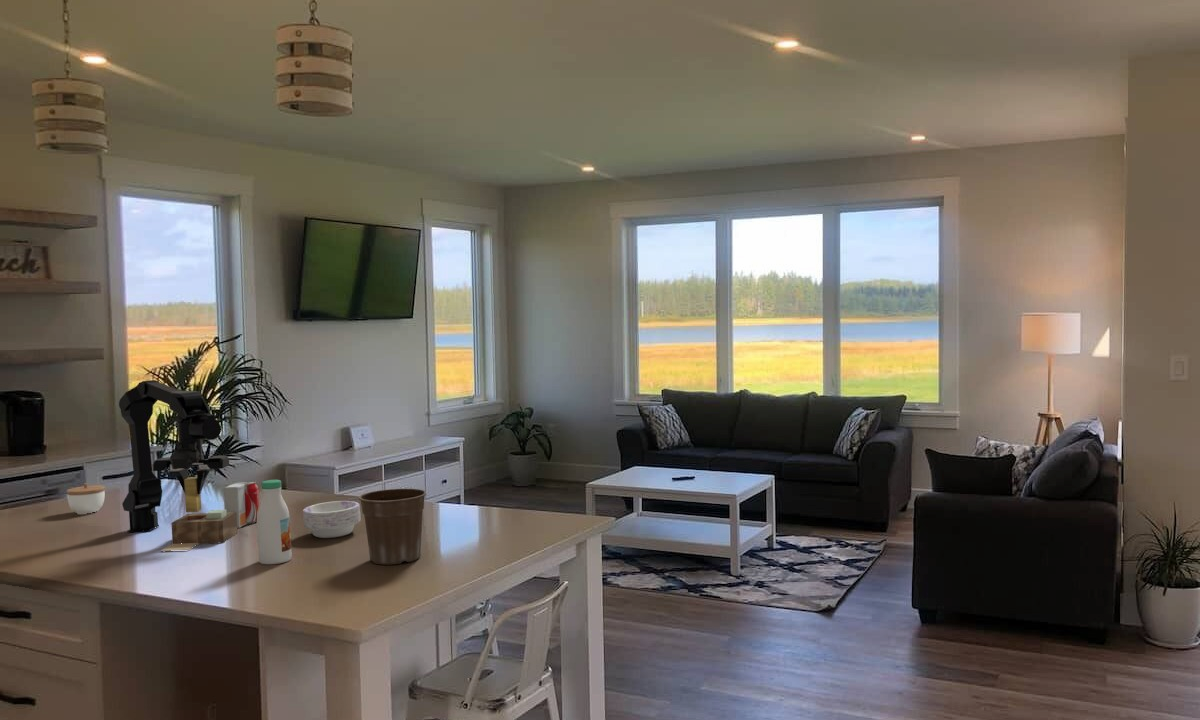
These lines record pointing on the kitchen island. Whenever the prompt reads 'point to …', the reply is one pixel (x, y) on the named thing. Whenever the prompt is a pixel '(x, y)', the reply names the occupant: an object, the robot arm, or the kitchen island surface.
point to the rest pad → (180, 546)
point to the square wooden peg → (192, 495)
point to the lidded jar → (86, 498)
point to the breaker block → (203, 528)
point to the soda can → (251, 500)
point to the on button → (216, 514)
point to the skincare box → (236, 502)
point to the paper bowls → (331, 518)
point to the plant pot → (393, 524)
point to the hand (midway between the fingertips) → (192, 494)
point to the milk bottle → (273, 525)
